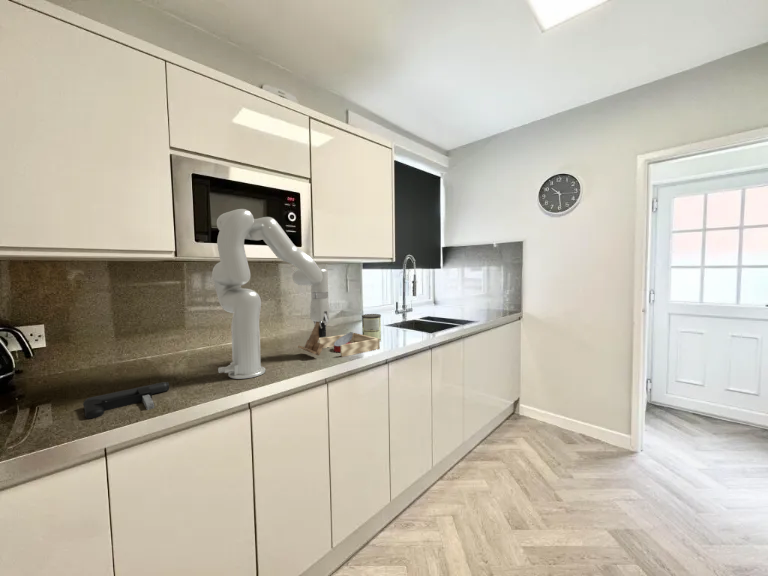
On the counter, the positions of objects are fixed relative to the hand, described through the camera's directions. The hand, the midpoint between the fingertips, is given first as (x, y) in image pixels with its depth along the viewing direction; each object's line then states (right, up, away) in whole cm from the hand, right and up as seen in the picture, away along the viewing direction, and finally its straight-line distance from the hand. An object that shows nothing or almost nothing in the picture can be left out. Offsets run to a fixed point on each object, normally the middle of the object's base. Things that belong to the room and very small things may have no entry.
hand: (320, 335), depth 145 cm
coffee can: (+22, -7, +28) cm, 36 cm away
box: (+12, -8, +10) cm, 17 cm away
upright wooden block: (-5, -6, -4) cm, 9 cm away
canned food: (+10, -8, +8) cm, 15 cm away
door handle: (-44, -12, -54) cm, 70 cm away
